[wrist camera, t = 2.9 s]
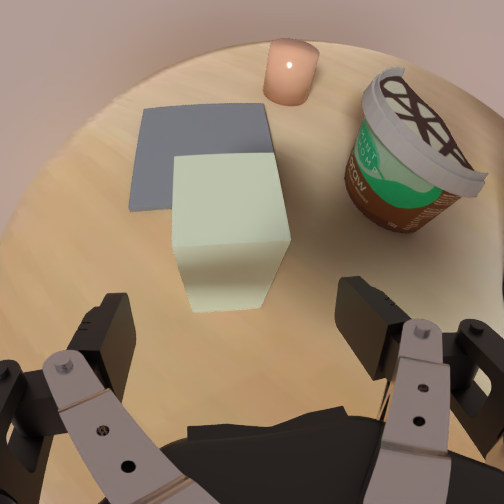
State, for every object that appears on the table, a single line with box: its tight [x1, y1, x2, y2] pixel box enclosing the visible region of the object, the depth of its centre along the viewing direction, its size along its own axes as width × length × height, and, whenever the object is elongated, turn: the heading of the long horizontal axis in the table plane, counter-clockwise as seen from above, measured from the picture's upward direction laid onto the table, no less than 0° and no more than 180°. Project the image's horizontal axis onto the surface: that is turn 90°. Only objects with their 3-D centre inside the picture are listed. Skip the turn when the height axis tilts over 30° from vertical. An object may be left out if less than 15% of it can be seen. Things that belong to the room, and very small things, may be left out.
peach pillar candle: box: [263, 38, 319, 106], centre depth 29 cm, size 5×5×6 cm
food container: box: [344, 67, 488, 233], centre depth 22 cm, size 12×6×10 cm, turn 16°
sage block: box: [172, 153, 291, 313], centre depth 17 cm, size 4×4×10 cm
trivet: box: [129, 103, 274, 212], centre depth 26 cm, size 12×12×1 cm
